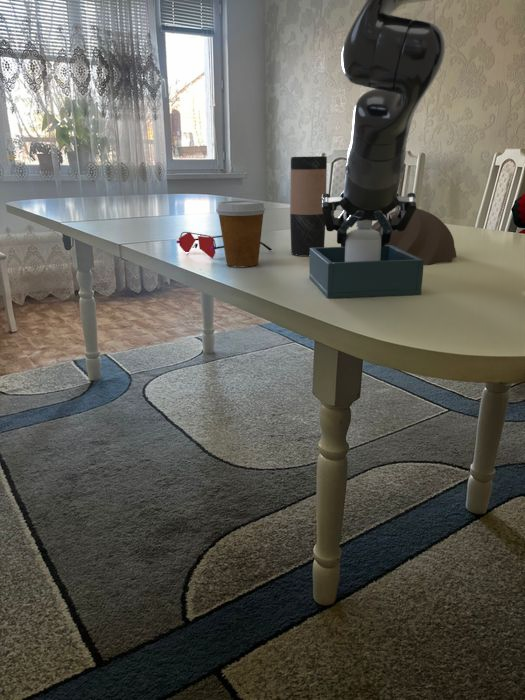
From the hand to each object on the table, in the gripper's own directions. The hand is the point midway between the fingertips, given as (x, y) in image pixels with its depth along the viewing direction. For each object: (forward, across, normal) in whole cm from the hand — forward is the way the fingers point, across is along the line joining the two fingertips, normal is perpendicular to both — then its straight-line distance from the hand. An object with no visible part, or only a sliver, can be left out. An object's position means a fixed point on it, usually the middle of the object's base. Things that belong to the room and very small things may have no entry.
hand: (362, 242), depth 88 cm
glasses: (+27, +28, -17) cm, 42 cm away
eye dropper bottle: (+3, 0, +6) cm, 7 cm away
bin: (+4, 0, +6) cm, 7 cm away
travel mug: (+26, +9, -16) cm, 31 cm away
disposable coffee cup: (+17, +22, -7) cm, 28 cm away
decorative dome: (+23, -12, -14) cm, 30 cm away
